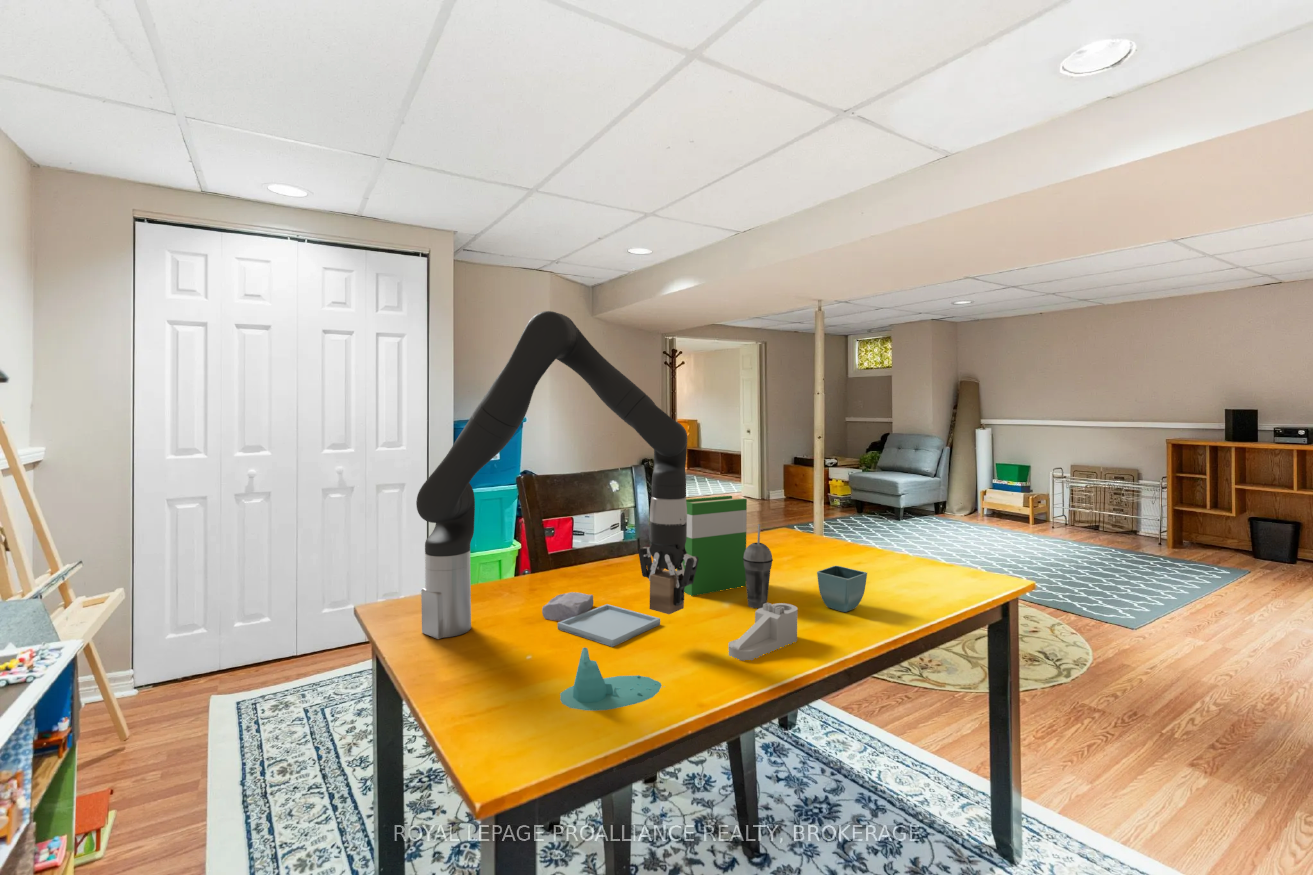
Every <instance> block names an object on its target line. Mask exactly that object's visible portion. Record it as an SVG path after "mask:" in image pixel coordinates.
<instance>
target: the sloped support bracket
mask: <svg viewBox="0 0 1313 875" xmlns="http://www.w3.org/2000/svg"><path fill="white" fill-rule="evenodd" d="M754 614H755V615H754V624H752V625H751V627H749V629H747V631H745V632H744V633H743V634H742V635H741V636H740V637H739V638H737V639H734V640H731V641H729V642H728V651H729V652H728V656H729V657H731V656H732V657H731V658H733V657H734V658H733V659H735V658H737V659H736V660H738V659H739V660H738V661H745V660H751V661H753V660H755V659H754V658H756V659H758V658H760V657H759V656H761V657H763V656H764V655H763V654H766V653H768V654H770V652H771V651H773V652H774V650H776V649H778V650H780V649H781V648H780V647H783V648H785V647H786V646H785V645H788V644H790V645H792V643H793V642H795V643H796V642H797V641H798V607H797V606H796V605H793V604H791V603H785V602H783V603H782V602H781V603H780V602H779V603H773V604H772V603H770V602H767V603H765V604H763V608H760V609H756V610H755V613H754ZM793 644H794V643H793ZM784 646H785V647H784ZM788 646H789V645H788ZM779 648H780V649H779ZM776 651H777V650H776ZM771 653H772V652H771ZM762 655H763V656H762ZM766 655H767V654H766Z"/></svg>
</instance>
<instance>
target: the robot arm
mask: <svg viewBox="0 0 1313 875" xmlns="http://www.w3.org/2000/svg"><path fill="white" fill-rule="evenodd" d="M556 360H557V361H558V362H560V363H562V364H564V365H566V367H568V368H570V369H571V370H573V371H574V372H575V373H576V374H577V375H579V376H580V378H582V380H584V382H586V384H588V386H589V387H590V388H591V389H592V391H594V393H595V394H596V395H597V397H598V398H600V400H601V401H602V402H603V403H604V405H606V406H607V407H608V408H609V409H610V411H612V412H613V413H614V414H615V415H616V416H618V418H620V420H622V421H624V423H626V425H628V426H629V427H631V428H632V429H633V430H634V431H636V433H637V434H638V435H639V436H640V437H641V438H642V439H643V440H644V441H645V442H646V443H647V444H648V445H649V446H650V447H651V448H652V449H653V471H652V475H651V476H652V477H651V499H650V504H649V505H650V506H649V542H650V546H644V547H640V548H638V556H639V558H638V559H639V562H640V564H639V565H640V569H641V575H642V577H643V578H647V579H648V581H649V582H650V575H652V574H657V573H658V572H662V571H664V570H667V571H669V573H670V576H671V577H672V578H674V585H675V587H674V605H675V606H679V605H681V604H682V602H684V603H685V593H684V588H685V587H686V586H688V585H690V584H693V582H694V578H695V574H696V569H697V565H698V561H699V558H698V557H697V556H694V557H693V556H690V555H688V554H687V552H686V549H685V543H686V539H687V504H686V499H687V475H686V465H687V450H688V432H687V430H686V428H685V427H684V426H683V425H682V424H681V423H680V422H679V421H675V420H674V418H672V417H671V416H670V415H668V413H666V412H664V411H663V410H662V409H661V408H659V407H658V406H657V404H655V402H654V401H653V399H651V397H650V396H648V394H646V392H644V391H643V390H642V389H641V388H640V387H639V386H637V385H636V384H635V382H633V381H631V379H629V378H628V377H627V376H626V375H624V374H623V372H621V371H620V370H618V369H617V368H616V367H615V366H614V365H612V364H611V363H610V362H609V361H608V360H607V359H606V358H605V357H604V356H603V355H602V354H601V353H600V352H599V351H598V350H597V349H596V348H595V347H594V346H593V345H592V343H591V342H590V341H589V340H588V338H586V337H585V335H584V334H583V333H582V332H581V331H580V329H579V328H578V327H577V325H576V324H575V323H574V321H573V320H572V319H571V318H570V317H568V316H567V315H565V314H563V313H558V312H557V311H551V310H545V311H541V312H538V313H537V314H535V315H533V317H531V318H530V320H529V321H528V322H527V324H525V327H524V330H523V331H522V334H521V336H520V337H519V340H518V341H517V344H516V345H515V348H514V350H513V351H512V354H511V355H510V357H509V359H508V361H507V363H506V364H505V366H504V367H503V368H502V370H501V371H500V373H499V374H498V375H497V377H496V378H495V380H494V381H493V382H492V384H491V386H490V387H489V389H488V391H487V392H486V393H485V395H484V396H483V397H482V399H481V400H480V402H479V403H478V405H477V407H476V408H475V410H474V411H473V412H472V414H471V416H470V417H469V419H468V421H467V423H466V424H465V425H464V427H463V429H462V430H461V432H460V434H459V435H458V437H457V438H456V440H455V441H454V443H453V445H452V446H451V448H450V450H449V451H448V453H446V455H445V456H444V458H443V459H442V461H441V462H440V463H439V465H438V466H437V467H435V470H434V471H433V472H432V473H431V474H430V476H429V477H428V478H427V479H426V480H425V481H424V483H423V484H422V485H421V487H420V489H419V491H418V493H417V496H416V510H417V513H418V515H419V516H420V518H422V519H423V520H424V521H426V522H428V523H432V524H435V526H434V527H433V530H432V532H431V534H430V535H429V536H428V537H427V538H426V539H425V542H424V575H425V577H424V578H425V580H424V581H425V587H424V588H422V589H421V591H420V592H421V595H420V596H421V599H420V600H421V633H422V634H425V635H427V636H430V637H431V638H434V639H436V640H440V639H442V638H452V637H456V636H460V635H463V634H466V633H467V632H469V631H470V630H471V629H472V602H471V600H472V598H471V597H472V596H471V595H472V594H471V593H472V591H471V586H472V584H471V543H472V542H471V541H472V540H473V537H474V532H475V519H476V518H475V516H476V515H475V514H476V503H475V502H476V498H475V494H474V489H473V487H472V485H471V483H470V482H471V481H472V479H473V478H474V476H475V475H476V474H477V473H478V472H479V471H480V470H481V469H482V468H484V466H485V465H487V464H488V463H489V462H490V461H491V460H493V459H494V458H495V457H496V456H497V455H498V454H500V452H501V451H503V449H504V448H505V447H506V446H507V445H508V443H509V442H510V441H511V440H512V438H513V436H514V435H515V433H517V430H518V429H519V427H520V426H521V424H522V422H523V421H524V419H525V417H526V415H527V413H528V411H529V407H530V404H531V401H532V397H533V394H534V392H535V389H536V386H537V385H538V384H539V382H540V380H541V379H542V377H543V376H544V374H545V373H546V372H547V370H548V369H549V367H550V366H552V364H553V363H554V362H555V361H556ZM684 560H685V563H684V565H685V570H684V567H683V563H682V562H683V561H684ZM677 568H678V570H677ZM678 576H679V577H678Z"/></svg>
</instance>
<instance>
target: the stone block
mask: <svg viewBox="0 0 1313 875" xmlns="http://www.w3.org/2000/svg"><path fill="white" fill-rule="evenodd" d="M593 606H594V595H593V594H586V593H582V592H573V591H571V592H566V593H562V594H557V595H556V596H555V597H553V598H551V599H550V600H549V601H548V602H547V603H546V604H545V605H543V606H542V609H541V613H542V616H543V618H544V619H545V620H549V621H558V622H561V621H563V620H566V619H569V618H571V617H574V616H577V615H579V614H582V613H585V612H587V611H590V610H592V608H593Z"/></svg>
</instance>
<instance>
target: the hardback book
mask: <svg viewBox="0 0 1313 875" xmlns="http://www.w3.org/2000/svg"><path fill="white" fill-rule="evenodd" d="M747 502H748V501H747V498H736V499H734V498H733V496H732V495H723V496H722V495H721V496H710V497H698V498H697V497H696V498H695V497H694V498H686V504H687V539H686V543H685V549H686V552H687V554H688V555H690V556H693V557H694V556H697V557H698V558H699V561H698V565H697V569H696V574H695V578H694V582H693V584H690V585H688V586H686V587H685V588H684V592H685V593H684V594H687V595H688V596H690V595H691V597H694V596H693V595H695V596H700V594H701V595H705V594H711V593H710V592H712V593H716V592H721V591H720V590H723V591H727V590H726V589H729V590H731V589H730V588H734V589H738V588H737V587H740V588H742V587H741V586H745V587H746V575H745V567H744V560H743V557H744V552H745V550H746V548H747V518H748V517H747V509H748V508H747V505H748V503H747ZM682 563H683V567H684V570H685V565H684V563H685V560H684V561H683V562H682ZM677 570H678V568H677V569H676V571H677Z"/></svg>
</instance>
